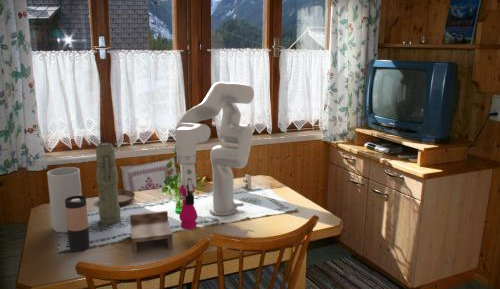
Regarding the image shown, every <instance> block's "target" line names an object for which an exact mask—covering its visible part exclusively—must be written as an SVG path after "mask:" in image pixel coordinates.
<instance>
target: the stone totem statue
mask: <svg viewBox="0 0 500 289" xmlns="http://www.w3.org/2000/svg"><path fill="white" fill-rule="evenodd" d="M95 156H96V164H97V165H96V171H95V174H96V184H97V187H98V197H99V199H98V201H99V207H98V212H99V221H100V223H101V224H102V225H113V224H117V223H119V222H120V221H121V207H120V206H121V205H119V203H118V190H119V189H118V184H119V176H118V174H119V173H118V172H119V171H118V169H117V166H116V165H117V164H116V152H115V148H114V145H113V143H111V142H102V143H98V144H97V146H96V150H95Z"/></svg>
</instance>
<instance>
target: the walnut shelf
mask: <svg viewBox="0 0 500 289" xmlns="http://www.w3.org/2000/svg"><path fill="white" fill-rule="evenodd" d="M129 216H130V218H129V219H130V233H131V236H132V237H131V247H132V254H137V253H138V252H137V251H138V249H137V243H138V242H139V243H140V242H147V241H156V240H164V239H165V240H166V243H167V247H168V249H169V250H173V249H174V247H173V246H174V243H173V242H174V241H173V240H174V239H173V232H172V228H171V225H170V221H169V214H168V210H162V211H161V210H160V211H153V212H144V213H143V212H142V213H141V212H140V213H134V214H133V213H131V214H130V215H129Z"/></svg>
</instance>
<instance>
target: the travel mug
mask: <svg viewBox="0 0 500 289" xmlns="http://www.w3.org/2000/svg"><path fill="white" fill-rule="evenodd" d="M87 204H88V203H87V197H86V196H84V195H82V196H72V197H68V198H66V199H65V208H66V220H67V230H68V232H67V236H68V244H69V250H70V251H71V252H75V253H76V252H77V253H81V252H84V251H87V250H88V249H89V248H90V246H91V245H90V228H89V218H88V217H89V216H88V207H87V206H88V205H87Z"/></svg>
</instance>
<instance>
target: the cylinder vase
mask: <svg viewBox="0 0 500 289" xmlns="http://www.w3.org/2000/svg"><path fill="white" fill-rule="evenodd" d="M46 174H47V175H46V176H47V186H48V193H49V195H48V196H49V204H50V211H51V213H50V214H51V223H52V229H53V230H54V231H55V232H56V233H63V234H65V233H68V230H67V220H66V208H65V199H66V198H68V197H72V196H83V195H82V182H81V171H80V168H78V167H74V166H72V167H70V166H67V167H66V166H65V167H58V168H54V169H50V170H48V171H47V172H46Z"/></svg>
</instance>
